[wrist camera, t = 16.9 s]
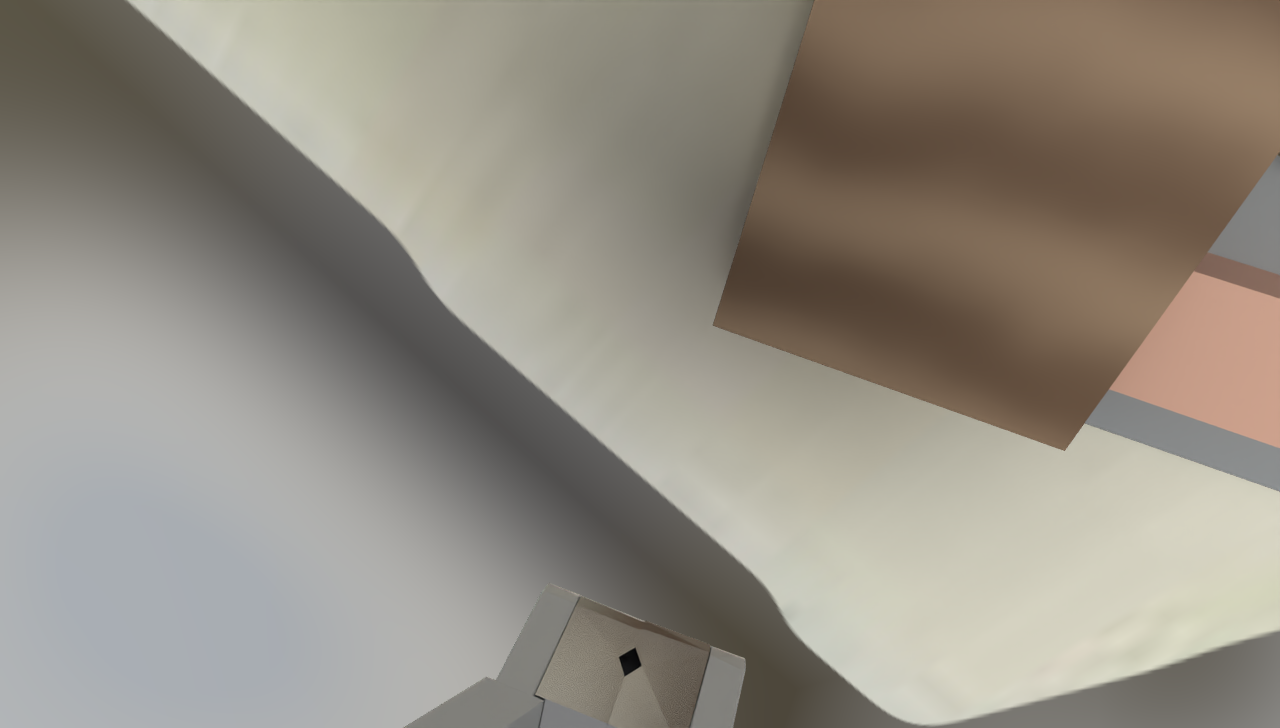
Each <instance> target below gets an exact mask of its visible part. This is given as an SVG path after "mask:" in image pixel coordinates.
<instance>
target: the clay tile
mask: <svg viewBox="0 0 1280 728" xmlns="http://www.w3.org/2000/svg"><path fill="white" fill-rule="evenodd" d="M1109 389H1110V390H1113V391H1115V392H1118V393H1121V394H1124V395H1127V396H1130V397H1133V398H1136V399H1139V400H1141V401H1144V402H1147V403H1150V404H1153V405H1156V406H1159V407H1162V408H1165V409H1168V410H1170V411H1173V412H1176V413H1179V414H1182V415H1185V416H1188V417H1191V418H1194V419H1196V420H1199V421H1202V422H1205V423H1208V424H1211V425H1214V426H1217V427H1220V428H1222V429H1225V430H1228V431H1231V432H1234V433H1237V434H1240V435H1243V436H1246V437H1249V438H1251V439H1254V440H1257V441H1260V442H1263V443H1266V444H1269V445H1272V446H1275V447H1277V448H1280V275H1278V274H1275V273H1272V272H1269V271H1266V270H1262V269H1259V268H1256V267H1253V266H1250V265H1247V264H1243V263H1240V262H1237V261H1234V260H1231V259H1228V258H1224V257H1221V256H1218V255H1215V254H1212V253H1208V252H1207V254H1206V255H1205V256H1204V258H1203V259H1202V260H1201V262H1200V263H1199V265H1198V266H1197V267H1196V269H1195V270H1194V272H1193V273H1192V274H1191V276H1190V277H1189V279H1188V280H1187V281H1186V283H1185V284H1184V286H1183V287H1182V288H1181V290H1180V291H1179V292H1178V294H1177V295H1176V297H1175V298H1174V299H1173V301H1172V302H1171V304H1170V305H1169V306H1168V308H1167V309H1166V311H1165V312H1164V313H1163V315H1162V316H1161V317H1160V319H1159V320H1158V322H1157V323H1156V324H1155V326H1154V327H1153V329H1152V330H1151V331H1150V333H1149V334H1148V336H1147V337H1146V338H1145V340H1144V341H1143V343H1142V344H1141V345H1140V347H1139V348H1138V349H1137V351H1136V352H1135V354H1134V355H1133V356H1132V358H1131V359H1130V361H1129V362H1128V363H1127V365H1126V366H1125V368H1124V369H1123V370H1122V372H1121V373H1120V375H1119V376H1118V377H1117V379H1116V380H1115V381H1114V383H1113V384H1112V386H1111V387H1110V388H1109Z"/></svg>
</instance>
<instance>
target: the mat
mask: <svg viewBox="0 0 1280 728" xmlns="http://www.w3.org/2000/svg"><path fill="white" fill-rule="evenodd" d="M1208 253H1212V254H1215V255H1218V256H1221V257H1224V258H1228V259H1231V260H1234V261H1237V262H1240V263H1243V264H1247V265H1250V266H1253V267H1256V268H1259V269H1262V270H1266V271H1269V272H1272V273H1275V274H1278V275H1280V157H1279V156H1278V155H1277V156H1276V158H1275V159H1274V160H1273V162H1272V163H1271V165H1270V166H1269V167H1268V169H1267V170H1266V172H1265V173H1264V174H1263V176H1262V177H1261V178H1260V180H1259V181H1258V183H1257V184H1256V185H1255V187H1254V188H1253V190H1252V191H1251V192H1250V194H1249V195H1248V197H1247V198H1246V199H1245V201H1244V202H1243V203H1242V205H1241V206H1240V208H1239V209H1238V210H1237V212H1236V213H1235V215H1234V216H1233V217H1232V219H1231V220H1230V222H1229V223H1228V224H1227V226H1226V227H1225V229H1224V230H1223V231H1222V233H1221V234H1220V235H1219V237H1218V238H1217V240H1216V241H1215V242H1214V244H1213V245H1212V247H1211V248H1210V249H1209V251H1208ZM1085 424H1088V425H1091V426H1094V427H1097V428H1100V429H1103V430H1105V431H1108V432H1111V433H1114V434H1117V435H1120V436H1123V437H1125V438H1128V439H1131V440H1134V441H1137V442H1140V443H1143V444H1145V445H1148V446H1151V447H1154V448H1157V449H1160V450H1163V451H1165V452H1168V453H1171V454H1174V455H1177V456H1180V457H1183V458H1185V459H1188V460H1191V461H1194V462H1197V463H1200V464H1203V465H1205V466H1208V467H1211V468H1214V469H1217V470H1220V471H1223V472H1225V473H1228V474H1231V475H1234V476H1237V477H1240V478H1243V479H1245V480H1248V481H1251V482H1254V483H1257V484H1260V485H1263V486H1265V487H1268V488H1271V489H1274V490H1277V491H1280V448H1277V447H1275V446H1272V445H1269V444H1266V443H1263V442H1260V441H1257V440H1254V439H1251V438H1249V437H1246V436H1243V435H1240V434H1237V433H1234V432H1231V431H1228V430H1225V429H1222V428H1220V427H1217V426H1214V425H1211V424H1208V423H1205V422H1202V421H1199V420H1196V419H1194V418H1191V417H1188V416H1185V415H1182V414H1179V413H1176V412H1173V411H1170V410H1168V409H1165V408H1162V407H1159V406H1156V405H1153V404H1150V403H1147V402H1144V401H1141V400H1139V399H1136V398H1133V397H1130V396H1127V395H1124V394H1121V393H1118V392H1115V391H1113V390H1110V389H1109V390H1108V391H1107V393H1106V394H1105V395H1104V397H1103V398H1102V400H1101V401H1100V402H1099V404H1098V405H1097V406H1096V408H1095V409H1094V411H1093V412H1092V413H1091V415H1090V416H1089V418H1088V419H1087V420H1086V422H1085Z"/></svg>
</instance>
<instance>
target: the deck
mask: <svg viewBox="0 0 1280 728" xmlns="http://www.w3.org/2000/svg"><path fill="white" fill-rule="evenodd" d="M1279 152H1280V0H814V3H813V6H812V9H811V13H810V16H809V19H808V22H807V25H806V29H805V32H804V35H803V38H802V41H801V45H800V48H799V51H798V54H797V57H796V61H795V64H794V67H793V70H792V73H791V77H790V80H789V83H788V86H787V89H786V93H785V96H784V99H783V102H782V105H781V109H780V112H779V115H778V118H777V121H776V125H775V128H774V131H773V134H772V137H771V141H770V144H769V147H768V150H767V153H766V157H765V160H764V163H763V166H762V169H761V173H760V176H759V179H758V182H757V185H756V189H755V192H754V195H753V198H752V201H751V205H750V208H749V211H748V214H747V217H746V221H745V224H744V227H743V230H742V233H741V237H740V240H739V243H738V246H737V249H736V253H735V256H734V259H733V262H732V265H731V269H730V272H729V275H728V278H727V281H726V285H725V288H724V291H723V294H722V297H721V301H720V304H719V307H718V310H717V313H716V317H715V320H714V323H713V326H716V327H718V328H721V329H724V330H727V331H730V332H732V333H735V334H738V335H741V336H744V337H747V338H749V339H752V340H755V341H758V342H761V343H763V344H766V345H769V346H772V347H775V348H777V349H780V350H783V351H786V352H789V353H791V354H794V355H797V356H800V357H803V358H805V359H808V360H811V361H814V362H817V363H820V364H822V365H825V366H828V367H831V368H834V369H836V370H839V371H842V372H845V373H848V374H850V375H853V376H856V377H859V378H862V379H864V380H867V381H870V382H873V383H876V384H878V385H881V386H884V387H887V388H890V389H892V390H895V391H898V392H901V393H904V394H907V395H909V396H912V397H915V398H918V399H921V400H923V401H926V402H929V403H932V404H935V405H937V406H940V407H943V408H946V409H949V410H951V411H954V412H957V413H960V414H963V415H965V416H968V417H971V418H974V419H977V420H980V421H982V422H985V423H988V424H991V425H994V426H996V427H999V428H1002V429H1005V430H1008V431H1010V432H1013V433H1016V434H1019V435H1022V436H1024V437H1027V438H1030V439H1033V440H1036V441H1038V442H1041V443H1044V444H1047V445H1050V446H1052V447H1055V448H1058V449H1061V450H1064V451H1065V450H1066V448H1067V447H1068V445H1069V444H1070V443H1071V441H1072V440H1073V438H1074V437H1075V436H1076V434H1077V433H1078V432H1079V430H1080V429H1081V427H1082V426H1083V425H1084V423H1085V422H1086V420H1087V419H1088V418H1089V416H1090V415H1091V413H1092V412H1093V411H1094V409H1095V408H1096V406H1097V405H1098V404H1099V402H1100V401H1101V400H1102V398H1103V397H1104V395H1105V394H1106V393H1107V391H1108V390H1109V388H1110V387H1111V386H1112V384H1113V383H1114V381H1115V380H1116V379H1117V377H1118V376H1119V375H1120V373H1121V372H1122V370H1123V369H1124V368H1125V366H1126V365H1127V363H1128V362H1129V361H1130V359H1131V358H1132V356H1133V355H1134V354H1135V352H1136V351H1137V349H1138V348H1139V347H1140V345H1141V344H1142V343H1143V341H1144V340H1145V338H1146V337H1147V336H1148V334H1149V333H1150V331H1151V330H1152V329H1153V327H1154V326H1155V324H1156V323H1157V322H1158V320H1159V319H1160V317H1161V316H1162V315H1163V313H1164V312H1165V311H1166V309H1167V308H1168V306H1169V305H1170V304H1171V302H1172V301H1173V299H1174V298H1175V297H1176V295H1177V294H1178V292H1179V291H1180V290H1181V288H1182V287H1183V286H1184V284H1185V283H1186V281H1187V280H1188V279H1189V277H1190V276H1191V274H1192V273H1193V272H1194V270H1195V269H1196V267H1197V266H1198V265H1199V263H1200V262H1201V260H1202V259H1203V258H1204V256H1205V255H1206V254H1207V252H1208V251H1209V249H1210V248H1211V247H1212V245H1213V244H1214V242H1215V241H1216V240H1217V238H1218V237H1219V235H1220V234H1221V233H1222V231H1223V230H1224V229H1225V227H1226V226H1227V224H1228V223H1229V222H1230V220H1231V219H1232V217H1233V216H1234V215H1235V213H1236V212H1237V210H1238V209H1239V208H1240V206H1241V205H1242V203H1243V202H1244V201H1245V199H1246V198H1247V197H1248V195H1249V194H1250V192H1251V191H1252V190H1253V188H1254V187H1255V185H1256V184H1257V183H1258V181H1259V180H1260V178H1261V177H1262V176H1263V174H1264V173H1265V172H1266V170H1267V169H1268V167H1269V166H1270V165H1271V163H1272V162H1273V160H1274V159H1275V158H1276V156H1277V155H1278V153H1279Z"/></svg>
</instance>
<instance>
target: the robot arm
mask: <svg viewBox="0 0 1280 728" xmlns="http://www.w3.org/2000/svg"><path fill="white" fill-rule="evenodd" d="M745 669H746V665H745V658H742V657H739V656H736V655H734V654H731V653H728V652H726V651H723V650H720V649H718V648H714V647H710V644H708V643H705V642H702V641H699V640H697V639H694V638H691V637H688V636H686V635H683V634H680V633H678V632H675V631H672V630H669V629H667V628H664V627H661V626H659V625H656V624H653V623H650V622H648V621H643V620H640V619H638V618H635V617H633V616H630V615H628V614H625V613H623V612H620V611H617V610H615V609H612V608H610V607H608V606H605V605H603V604H600V603H598V602H595V601H592V600H590V599H587V598H585V597H583V596H581V595H579V594H576V593H574V592H571V591H568V590H566V589H563V588H560V587H558V586H555V585H553V584H550V583H549V584H548V585H547V586H546V587H545V589H544V590H543V591H542V592H541V594H540V596H539V598H538V600H537V602H536V604H535V606H534V608H533V610H532V612H531V614H530V615H529V617H528V619H527V621H526V623H525V625H524V627H523V629H522V631H521V633H520V635H519V637H518V639H517V641H516V642H515V644H514V646H513V648H512V650H511V652H510V654H509V656H508V658H507V660H506V662H505V664H504V666H503V668H502V670H501V672H500V673H499V675H498V677H497V679H496V680H494V679H491V678H488V677H485V678H483V679H482V680H480V681H479V682H477V683H475V684H474V685H472V686H470V687H469V688H467V689H466V690H464V691H462V692H461V693H459V694H457V695H456V696H454V697H452V698H451V699H449V700H448V701H446V702H444V703H443V704H441V705H439V706H438V707H436V708H435V709H433V710H431V711H430V712H428V713H426V714H425V715H423V716H421V717H420V718H418V719H417V720H415V721H413V722H412V723H410V724H408V725H407V726H405V727H404V728H733V724H734V719H735V715H736V710H737V705H738V701H739V696H740V692H741V687H742V683H743V678H744V674H745Z"/></svg>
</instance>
